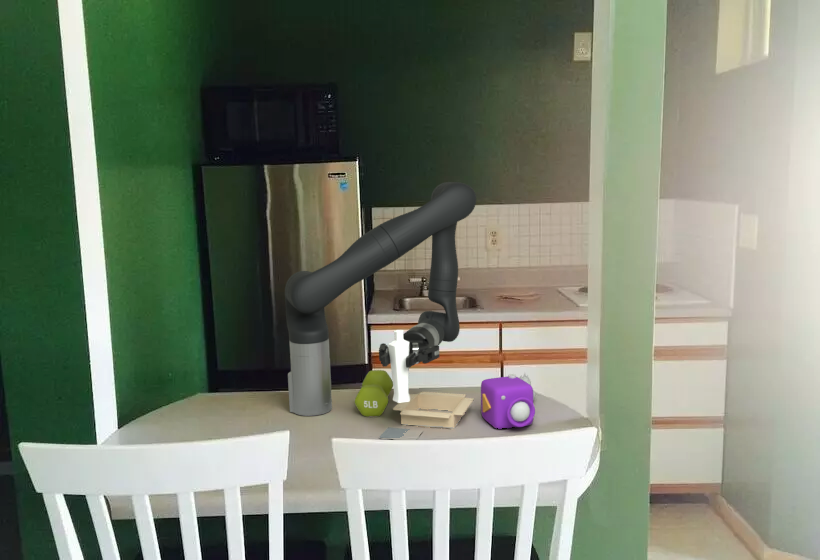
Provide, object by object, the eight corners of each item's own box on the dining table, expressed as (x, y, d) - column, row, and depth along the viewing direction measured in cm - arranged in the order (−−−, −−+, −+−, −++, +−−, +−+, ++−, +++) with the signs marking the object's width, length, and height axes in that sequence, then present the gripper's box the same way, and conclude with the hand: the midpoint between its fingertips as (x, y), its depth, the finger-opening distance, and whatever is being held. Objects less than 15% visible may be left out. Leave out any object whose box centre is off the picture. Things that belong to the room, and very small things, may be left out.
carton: (389, 427, 156) (389, 412, 155) (411, 404, 171) (411, 390, 170) (460, 433, 151) (460, 417, 150) (476, 409, 166) (476, 395, 165)
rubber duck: (517, 408, 166) (516, 375, 165) (508, 400, 172) (508, 368, 171) (539, 406, 167) (539, 374, 165) (530, 398, 173) (530, 366, 172)
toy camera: (508, 439, 147) (508, 393, 145) (473, 420, 159) (472, 377, 157) (549, 429, 152) (549, 384, 150) (512, 411, 164) (512, 370, 162)
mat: (379, 438, 149) (378, 437, 149) (388, 429, 155) (388, 427, 155) (415, 442, 147) (415, 440, 147) (423, 432, 152) (423, 430, 152)
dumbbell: (387, 418, 162) (386, 388, 161) (353, 418, 163) (352, 388, 162) (395, 396, 178) (394, 368, 177) (363, 396, 179) (362, 368, 178)
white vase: (387, 402, 149) (384, 333, 146) (395, 396, 153) (392, 328, 150) (407, 404, 147) (404, 334, 144) (415, 397, 151) (412, 329, 148)
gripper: (389, 325, 163) (362, 343, 147) (449, 327, 159) (428, 346, 143) (390, 356, 164) (364, 378, 148) (450, 359, 160) (429, 381, 144)
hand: (395, 362), depth 146 cm, fingers closed on white vase, 4 cm apart
